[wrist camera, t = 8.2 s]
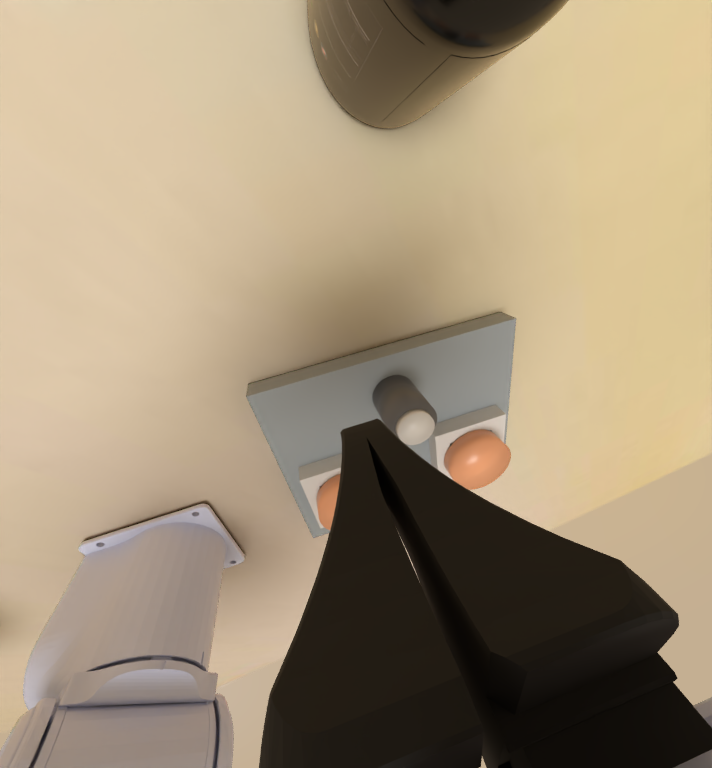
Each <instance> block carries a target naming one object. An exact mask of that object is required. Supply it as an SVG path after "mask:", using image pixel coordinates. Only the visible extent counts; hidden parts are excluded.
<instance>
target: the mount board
mask: <svg viewBox="0 0 712 768" xmlns="http://www.w3.org/2000/svg"><path fill="white" fill-rule="evenodd" d="M515 326H516V318H514V317H512V316H509V315H507V314H505V313H502V312H499V313H495V314H492V315H488V316H485V317H481V318H478V319H474V320H471V321H467V322H464V323H460V324H457V325H453V326H450V327H446V328H443V329H439V330H436V331H432V332H429V333H425V334H422V335H418V336H415V337H411V338H408V339H404V340H401V341H397V342H394V343H390V344H387V345H383V346H380V347H376V348H373V349H369V350H366V351H362V352H359V353H355V354H352V355H348V356H345V357H341V358H338V359H334V360H331V361H327V362H324V363H320V364H317V365H313V366H310V367H306V368H303V369H299V370H296V371H292V372H289V373H285V374H282V375H278V376H275V377H271V378H268V379H264V380H261V381H257V382H254V383H250V384H248V389H247V395H246V397H247V399H248V401H249V404H250V406H251V408H252V410H253V412H254V414H255V416H256V418H257V420H258V423H259V425H260V427H261V429H262V431H263V433H264V435H265V437H266V439H267V442H268V444H269V446H270V448H271V450H272V452H273V454H274V456H275V458H276V461H277V463H278V465H279V467H280V469H281V471H282V473H283V475H284V477H285V480H286V482H287V484H288V486H289V488H290V490H291V492H292V494H293V496H294V498H295V501H296V503H297V505H298V507H299V509H300V511H301V513H302V515H303V517H304V520H305V522H306V524H307V526H308V528H309V530H310V532H311V534H312V536H313V538H315V537H318V536H321V535H324V534H327V533H330V530H328V529H326V528H325V527H323V526H322V524H321V523H320V520H319V515H318V508H317V501H316V498H317V493H318V491H319V489H320V488H321V487H322V485H323V484H324V483H325V482H327V481H328V480H329V479H331V478H332V477H334V476H336V475H339V474H340V473H341V462H342V440H341V434H340V433H341V431H342V430H343V429H345V428H348V427H352V426H355V425H358V424H361V423H365V422H368V421H371V420H374V419H379V420H381V421H382V419H381V417H380V415H379V413H378V411H377V409H376V407H375V406H374V403H373V399H372V396H373V391H374V389H375V387H376V386H377V385H378V383H379V382H380V381H382V380H383V379H385V378H387V377H389V376H392V375H402V376H405V377H407V378H409V379H410V380H411V381H412V383H413V384H414V385H415V386H416V388H417V389H418V390H419V391H420V392H421V394H422V395H423V396H424V397H425V399H426V400H427V401H428V402H429V403H430V405H431V406H432V407H433V408H434V410H435V411H436V413H437V424H436V426H435V428H434V431H433V433H432V435H431V436H430V437H429V438H428V439H427V440H425V441H424V442H422V443H420V444H417V445H407V446H408V447H409V448H411V449H412V450H413V451H414V452H415V453H417V454H418V455H419V456H420V457H422V458H423V459H424V460H425V461H427V462H428V463H429V464H431V465H432V466H433V467H435V468H436V469H438V470H439V471H440V472H442V473H443V474H445V475H446V476H448V477H449V478H451V479H452V477H451V476H450V474H449V473H448V472H447V470H446V468H445V466H444V458H445V455H446V452H447V450H448V449H449V447H450V443H453V442H455V441H456V440H457V439H458V438H460V437H461V436H463V435H464V434H467V433H469V432H471V431H475V430H489V431H491V432H493V433H494V434H495V435H496V436H497V437H498V438H499V439H500V440H501V441H502V442H503V443H504V444H506V432H507V420H508V408H509V397H510V385H511V373H512V361H513V349H514V337H515ZM382 422H383V421H382ZM452 480H453V479H452Z"/></svg>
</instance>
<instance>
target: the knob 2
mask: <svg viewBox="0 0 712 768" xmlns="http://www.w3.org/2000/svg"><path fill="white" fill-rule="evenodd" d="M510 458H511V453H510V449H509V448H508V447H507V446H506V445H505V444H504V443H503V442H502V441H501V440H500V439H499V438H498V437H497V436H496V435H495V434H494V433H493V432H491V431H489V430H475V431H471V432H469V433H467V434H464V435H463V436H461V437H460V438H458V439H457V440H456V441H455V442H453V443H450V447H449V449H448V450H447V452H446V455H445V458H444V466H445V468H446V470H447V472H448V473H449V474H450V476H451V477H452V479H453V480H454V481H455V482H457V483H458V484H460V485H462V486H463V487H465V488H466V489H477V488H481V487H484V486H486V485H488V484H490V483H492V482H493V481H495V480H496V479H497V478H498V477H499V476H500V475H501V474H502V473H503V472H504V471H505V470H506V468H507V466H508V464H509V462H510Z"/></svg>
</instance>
